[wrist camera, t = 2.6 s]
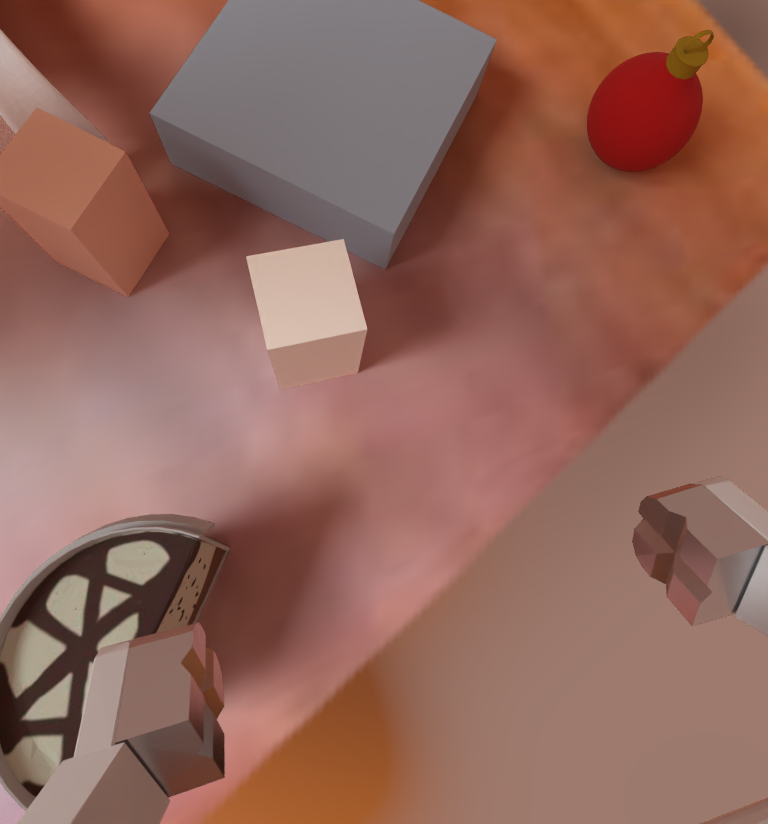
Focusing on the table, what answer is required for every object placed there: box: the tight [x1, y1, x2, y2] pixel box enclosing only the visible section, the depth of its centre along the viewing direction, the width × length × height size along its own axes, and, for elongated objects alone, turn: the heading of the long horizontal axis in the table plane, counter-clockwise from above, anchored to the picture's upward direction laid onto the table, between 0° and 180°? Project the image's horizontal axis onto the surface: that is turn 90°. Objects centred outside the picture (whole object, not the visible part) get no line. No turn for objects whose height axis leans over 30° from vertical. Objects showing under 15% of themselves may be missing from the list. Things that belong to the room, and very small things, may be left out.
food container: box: [0, 514, 230, 811], centre depth 26 cm, size 12×6×10 cm, turn 158°
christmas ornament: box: [587, 30, 714, 171], centre depth 35 cm, size 7×7×10 cm
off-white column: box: [246, 239, 367, 390], centre depth 31 cm, size 5×5×8 cm
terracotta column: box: [0, 108, 169, 297], centre depth 31 cm, size 5×5×8 cm
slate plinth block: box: [150, 0, 497, 269], centre depth 36 cm, size 16×16×5 cm
